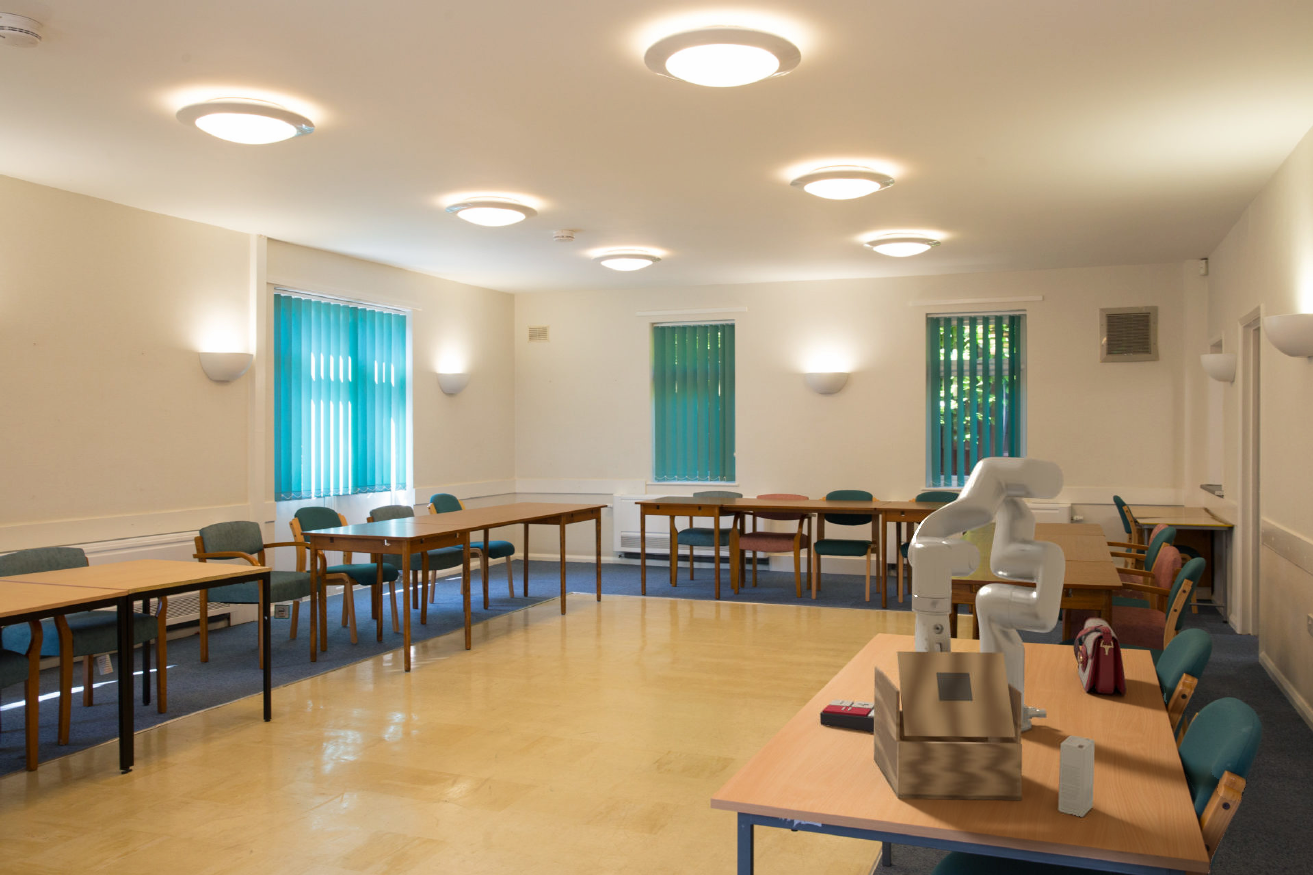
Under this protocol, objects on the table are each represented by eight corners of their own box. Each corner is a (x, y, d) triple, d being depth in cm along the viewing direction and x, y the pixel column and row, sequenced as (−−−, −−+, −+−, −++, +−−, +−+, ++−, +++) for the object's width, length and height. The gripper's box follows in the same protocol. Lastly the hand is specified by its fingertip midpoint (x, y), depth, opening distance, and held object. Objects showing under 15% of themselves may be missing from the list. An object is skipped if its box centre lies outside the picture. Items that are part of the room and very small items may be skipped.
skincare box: (1067, 801, 165) (1068, 733, 165) (1094, 807, 162) (1095, 739, 162) (1057, 811, 160) (1057, 742, 160) (1084, 818, 157) (1085, 747, 157)
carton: (984, 760, 185) (985, 666, 185) (1022, 800, 165) (1023, 694, 165) (872, 759, 186) (873, 664, 186) (896, 798, 166) (897, 692, 166)
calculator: (832, 697, 218) (896, 702, 211) (833, 715, 218) (897, 721, 211) (819, 709, 208) (886, 715, 201) (820, 728, 208) (887, 735, 201)
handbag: (1071, 670, 258) (1072, 608, 258) (1113, 673, 255) (1113, 610, 255) (1081, 696, 232) (1081, 627, 232) (1127, 700, 229) (1128, 630, 228)
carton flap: (1002, 653, 172) (1003, 652, 171) (1014, 737, 166) (1015, 736, 165) (896, 652, 172) (897, 651, 172) (904, 735, 166) (905, 735, 166)
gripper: (962, 611, 177) (961, 707, 177) (939, 597, 192) (938, 686, 192) (922, 611, 177) (921, 706, 177) (903, 597, 192) (902, 685, 192)
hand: (930, 695), depth 184 cm, fingers closed
